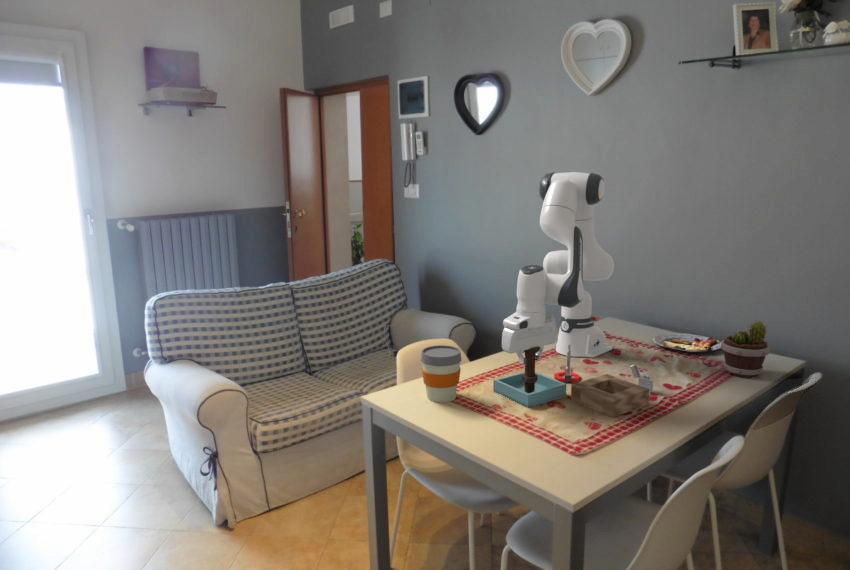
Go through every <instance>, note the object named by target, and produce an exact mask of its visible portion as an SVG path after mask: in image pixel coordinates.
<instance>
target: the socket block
mask: <svg viewBox="0 0 850 570" xmlns="http://www.w3.org/2000/svg"><path fill="white" fill-rule="evenodd" d="M570 384H571V387H570V389H571V390H570V400H571V401H572V400H573V401H572V402H575V403H577V404H579V403H580V405H582V406H584V405H585V406H584V407H587V408H589V407H590V408H589V409H591V408H592V410H594V409H595V410H594V411H596V412H598V411H599V412H598V413H601V414H604V415H606V416H609V417H611V418H615V417H618V416H620V415H623V414H627V413H630V412H632V411H634V410H638V409H641V408H644V407H646V406H645V405H647V406H649V405H648V404H649V403H650V393H649V389H648V388H645V387H642V386H640V385H638V383H633V382H631V381H628V380H625V379H622V378H620V377H617V376H614V375H611V374H608V373H606V374H602V375H598V376H596V377H592V378H589V379H585V380H581V381H578V383H570ZM643 406H644V407H643ZM640 407H641V408H640ZM629 411H630V412H629Z"/></svg>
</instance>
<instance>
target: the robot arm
mask: <svg viewBox="0 0 850 570" xmlns="http://www.w3.org/2000/svg"><path fill="white" fill-rule="evenodd" d="M605 185H606V184H605V182H604V178H603V177H602V176H601V175H600V174H597V173H593V172H589V173H588V172H580V171H579V172H578V171H571V172H570V171H569V172H549V173H546V174H544V175H543V176H542V177H541V178H540V182H539V187H538V190H539V196H540V198H541V200H542V202H543V203H542V206H541V211H540V215H539V226H540V228H541V230H542V232H543V233H544V234H545V235H546V236H547V237H548V238H550V239H552V240H554V241H556V242H558V243H560V244H562V245H564V246H565V247H567V250H566V249H561V250H559V249H558V250H554V251H548V253H547V254H546V255H545V256H544V258H543V262H542V266H541V265H538V264H529V265H525V266H523V267H521V268H520V269H519V272H518V276H517V285H516V298H517V305H516V308H515V309H516V310H515V312H514V313H512V314H510V315H509V316H508V317H506V318H504V319H503V321H502V324H503V326H504V328H503V330H502V334H501V348H502V350H503V352H505V353H508V354H515V353H516V356H517V357H518V363H519V364H521V365H525V363H526V358H525V352H524V350H528V349H530V348H533V347H538V346H539V347H540V351H538V352H537V353H536V356H535V362H536V361H540V360H541V355H542V353H543V352H544V348H545V347H546V346H548V345H553V344H555V347H556V348H555V351H556V353H558V354H560V355H563V356H567V351H568V345H570V351H571V357H575V358H576V357H577V358H578V357H582V358H593V359H594V358H596V357H599V356H600V355H603V354H604V353H605V354H606V353H607V352H609V351H612V350H613V346H612V345H610V344H608V343H607V336H606V333H604V332H603V331H602V330H601V329H600V328H599V327H598V326H597V325H595V322H596V323H597V322H599V320H600V317H599V316H597V315H592V303H593V301H592V300H593V299H592V295H591V294H590V293H589V292H588V291H587V290H585V289H584V282H585V281H589V282H597V281H606V280H608V279H609V278H610V277H612V276H613V275H612V274H613V273H614V270H615V264H614V263H615V261H614V260H613V257H612V256H611V255H610V254H609V253H607V252H606V251H605V250H604V249H603V248H602V247H601V246H600V244H599V243H598V240H597V238H596V234H595V209H594V208H595V207H594V206H595V205H596V204H598V203H600V202H601V201H602V199H603V196H604V195H605V188H606V187H605ZM546 304H547V305H554V306H560V307H561V308H560V309H561V313H560V315H559V330H558V332H557V323H556V317H555V316H554V315H553V314H547V315H546V310H547V309H546ZM556 342H557V343H556Z"/></svg>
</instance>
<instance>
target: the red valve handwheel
mask: <svg viewBox="0 0 850 570" xmlns="http://www.w3.org/2000/svg"><path fill="white" fill-rule="evenodd" d="M571 358H572V356H571V351H570V345H568V351H567V355H566V367H565V371H560V372H556V373H554V375H553V377H554V379H555V380H557V381H560V382H563V383H565V382H566V383H565V384H575V383H578V382H579V380H580V378H581V376H580V374H578V373H576V372H572V368H571ZM560 375H561V376H560ZM573 376H574V377H573Z"/></svg>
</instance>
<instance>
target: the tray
mask: <svg viewBox="0 0 850 570" xmlns="http://www.w3.org/2000/svg"><path fill="white" fill-rule="evenodd" d="M523 374H525V371H522V372H518V373H515V374H510V375H507V376H502V377H499V378H494V379H493V381H492V383H493V386H492V387H493V388H492V391H494V392H493V393H495V392H496V393H495V394H497V393H498V394H497V395H499V394H501V395H503V396H505V397H504V398H506V397H507V398H506V399H508V398H509V399H508V400H510V399H511V400H510V401H512V402H514V401H515V402H514V403H516V402H517V403H516V404H518V403H519V405H520V404H521V406H523V407H525V408H527V407H528V408H527V409H529V408H532V406H533V407H535V405H536V406H539V405H541V404H545V402H546V403H548V401H549V402H551V401H555V400H559V399H562V398H565V397H566V396H567V383H565V382H560V381H558V379H556V378H553V377H550V376H547V375H545V374H543V373H539V372H538V371H537V372H536V371H535V374H536V375H537V376H538V380H537V381H536V382H535V390H534V392H532V393H527V392H525V391H524V385H525V384H524V383H525V382H523V381H522V375H523ZM501 395H500V396H501ZM503 396H502V397H503ZM564 396H565V397H564ZM561 397H562V398H561ZM558 398H559V399H558ZM538 404H539V405H538Z"/></svg>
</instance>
